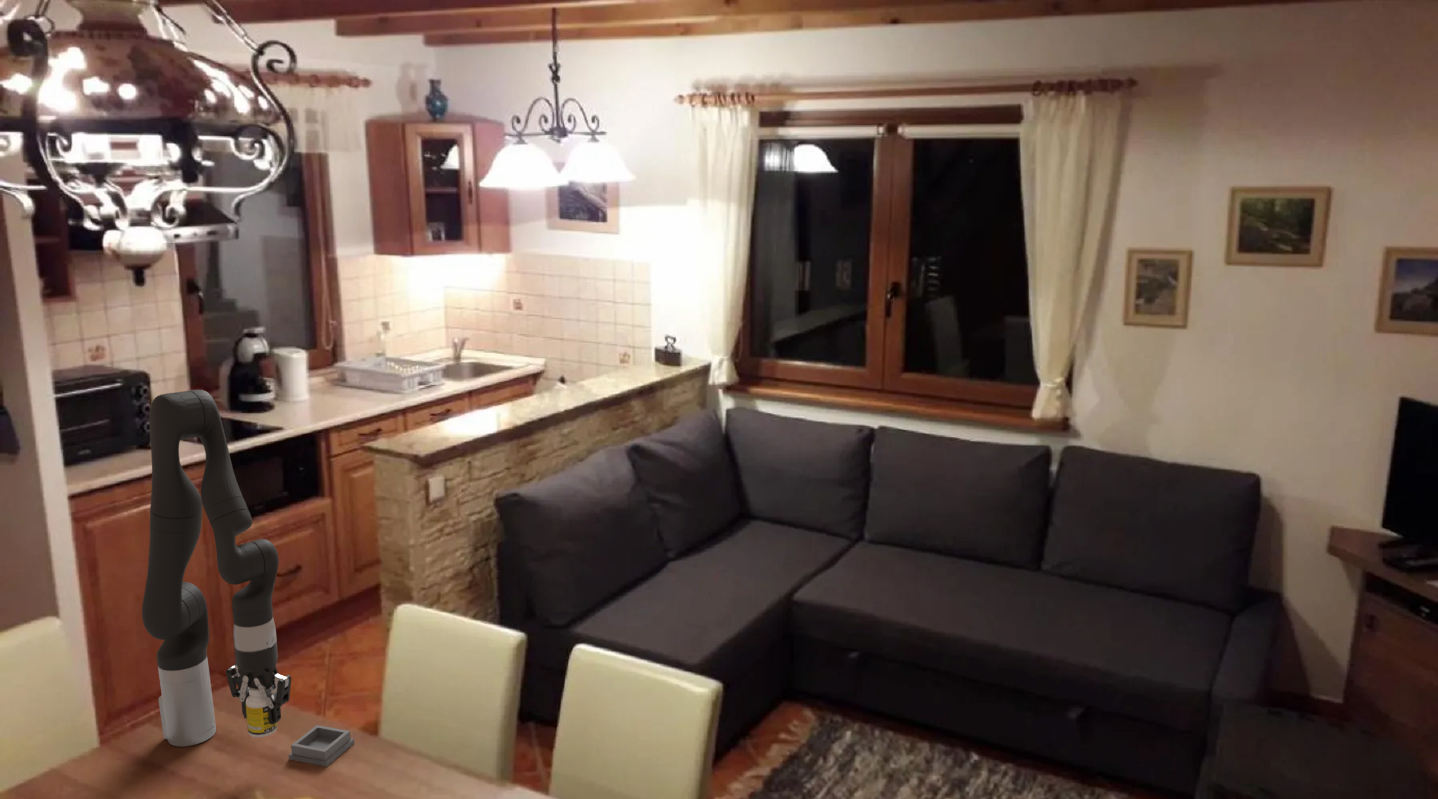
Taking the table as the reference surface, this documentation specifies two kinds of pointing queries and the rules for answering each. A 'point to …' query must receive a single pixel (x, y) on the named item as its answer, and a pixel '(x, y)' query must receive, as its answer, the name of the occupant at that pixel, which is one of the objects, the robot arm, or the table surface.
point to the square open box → (321, 745)
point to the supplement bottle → (258, 715)
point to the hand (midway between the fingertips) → (262, 719)
